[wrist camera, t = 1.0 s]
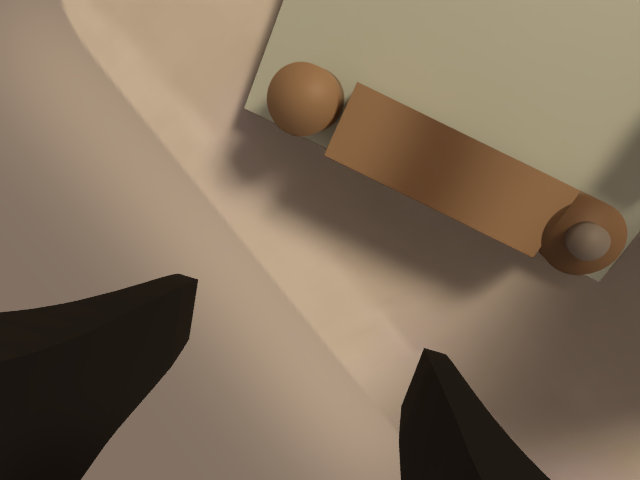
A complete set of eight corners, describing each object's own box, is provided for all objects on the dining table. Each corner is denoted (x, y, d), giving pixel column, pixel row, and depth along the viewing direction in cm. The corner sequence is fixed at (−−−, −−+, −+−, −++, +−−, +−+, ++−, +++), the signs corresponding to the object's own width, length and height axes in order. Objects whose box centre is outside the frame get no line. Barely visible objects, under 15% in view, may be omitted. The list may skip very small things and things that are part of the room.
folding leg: (609, 204, 16) (654, 227, 13) (567, 262, 17) (600, 293, 14) (362, 84, 16) (355, 81, 13) (333, 147, 17) (321, 157, 14)
